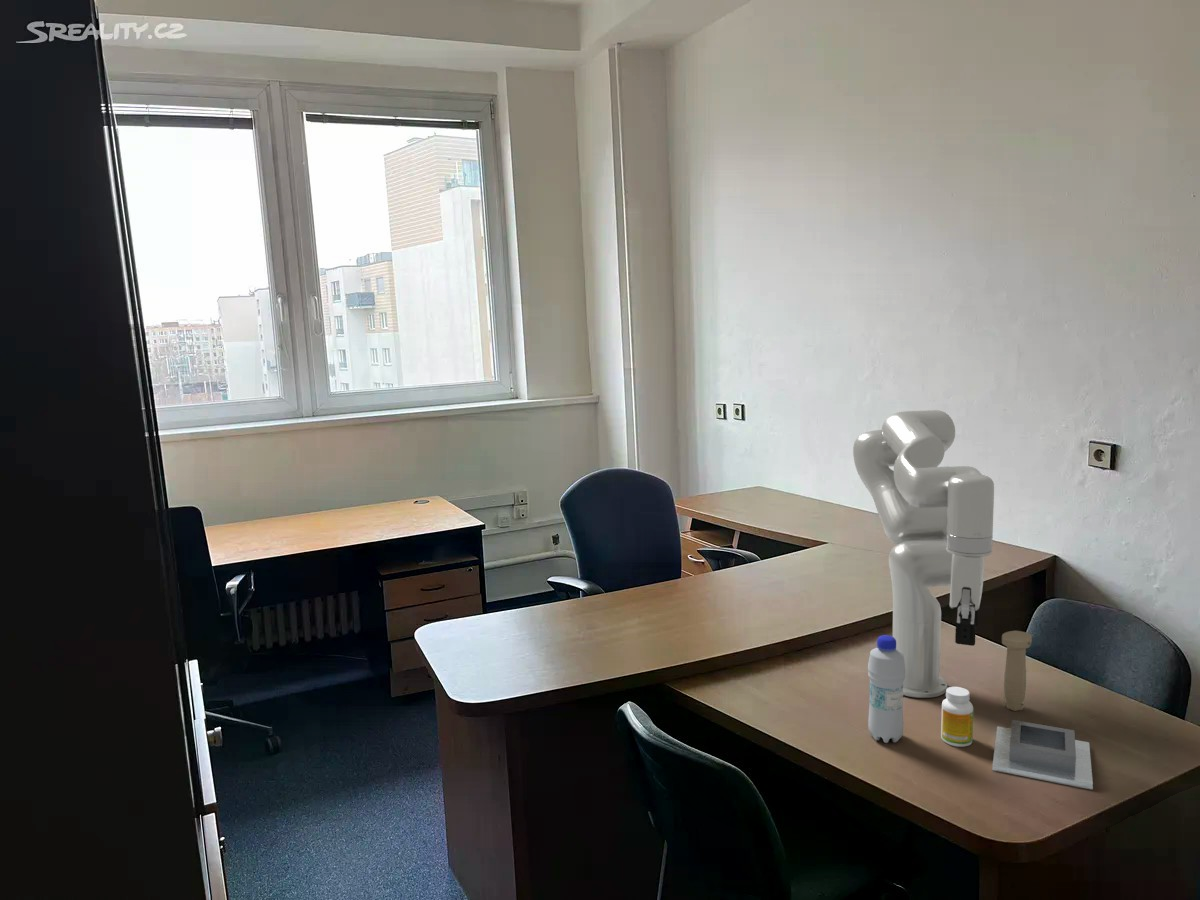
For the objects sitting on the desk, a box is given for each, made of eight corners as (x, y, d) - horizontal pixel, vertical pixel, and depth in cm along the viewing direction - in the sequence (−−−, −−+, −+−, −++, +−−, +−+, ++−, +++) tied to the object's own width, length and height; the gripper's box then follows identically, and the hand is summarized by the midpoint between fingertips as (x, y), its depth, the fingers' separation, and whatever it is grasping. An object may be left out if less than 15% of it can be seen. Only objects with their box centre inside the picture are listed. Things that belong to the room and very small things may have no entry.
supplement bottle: (975, 748, 152) (977, 698, 151) (944, 746, 154) (945, 696, 152) (968, 734, 158) (970, 685, 156) (938, 732, 159) (939, 684, 157)
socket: (992, 770, 145) (993, 748, 145) (997, 731, 158) (997, 711, 158) (1092, 789, 138) (1093, 767, 138) (1088, 747, 151) (1090, 726, 151)
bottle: (886, 749, 153) (887, 645, 150) (859, 734, 159) (860, 634, 156) (912, 740, 156) (914, 638, 153) (885, 725, 162) (886, 626, 159)
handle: (1033, 706, 167) (1036, 635, 165) (1018, 717, 163) (1021, 644, 161) (1009, 698, 171) (1012, 628, 169) (994, 709, 167) (996, 637, 165)
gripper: (949, 530, 159) (947, 616, 162) (942, 554, 144) (940, 649, 146) (993, 533, 156) (990, 621, 158) (990, 558, 140) (987, 655, 143)
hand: (966, 634), depth 152 cm, fingers open, 9 cm apart
